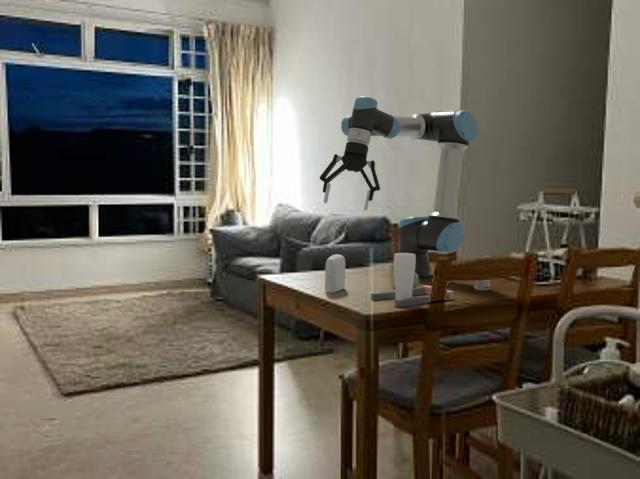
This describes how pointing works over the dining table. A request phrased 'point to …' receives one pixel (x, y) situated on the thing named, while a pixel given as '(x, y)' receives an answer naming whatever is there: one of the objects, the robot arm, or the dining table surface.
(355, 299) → the dining table surface
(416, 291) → the guide channel
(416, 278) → the air freshener
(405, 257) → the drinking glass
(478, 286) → the energy drink
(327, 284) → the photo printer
